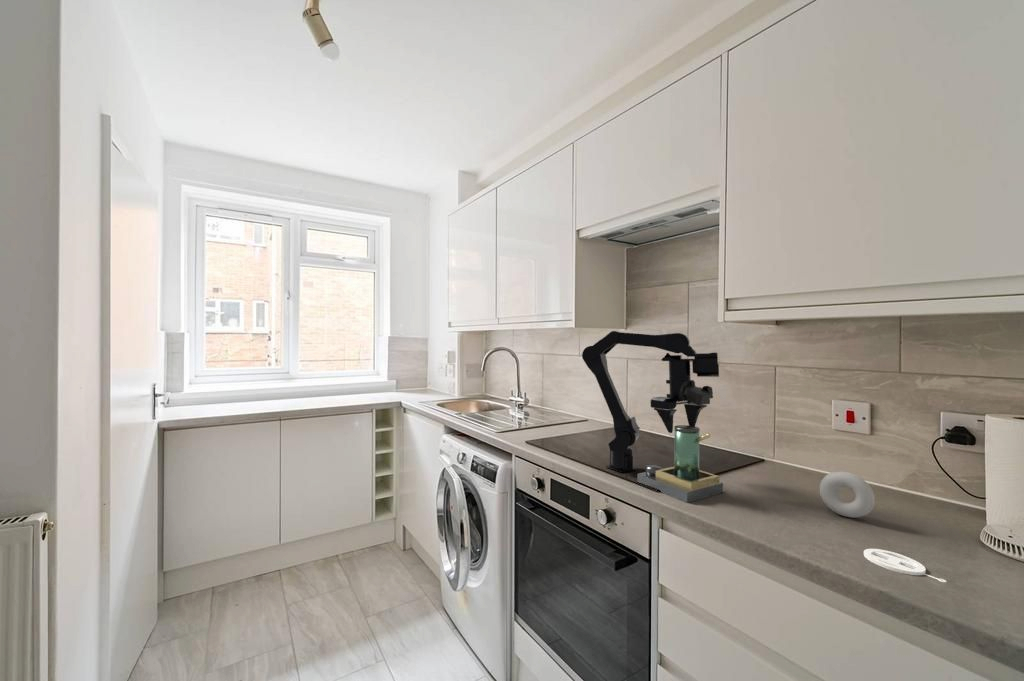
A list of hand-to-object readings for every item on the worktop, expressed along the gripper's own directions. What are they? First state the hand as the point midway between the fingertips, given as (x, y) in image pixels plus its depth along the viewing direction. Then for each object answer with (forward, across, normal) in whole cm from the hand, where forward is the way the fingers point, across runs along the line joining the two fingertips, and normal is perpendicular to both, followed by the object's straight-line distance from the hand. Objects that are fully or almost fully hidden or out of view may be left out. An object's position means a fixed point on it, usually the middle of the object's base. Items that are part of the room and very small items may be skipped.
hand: (681, 430), depth 120 cm
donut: (+15, +10, -35) cm, 40 cm away
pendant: (+15, -5, -50) cm, 53 cm away
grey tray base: (+13, -8, -5) cm, 16 cm away
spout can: (+11, -8, -9) cm, 16 cm away
